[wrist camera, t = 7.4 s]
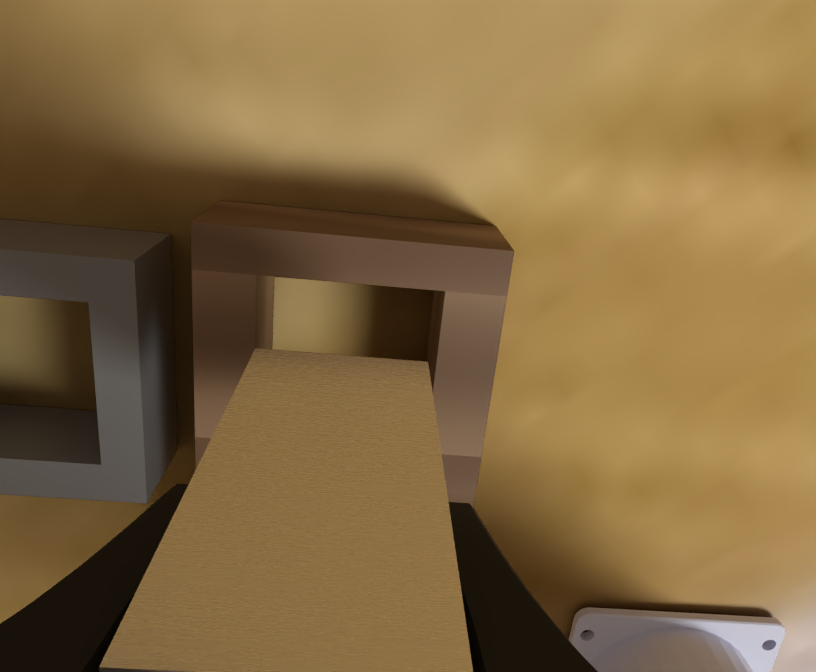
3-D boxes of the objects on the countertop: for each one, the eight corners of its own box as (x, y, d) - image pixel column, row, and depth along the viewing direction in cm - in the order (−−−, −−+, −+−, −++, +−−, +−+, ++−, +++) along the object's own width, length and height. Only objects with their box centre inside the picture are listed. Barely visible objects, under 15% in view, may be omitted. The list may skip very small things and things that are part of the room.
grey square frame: (177, 448, 22) (147, 503, 19) (-50, 433, 21) (-115, 486, 19) (170, 233, 19) (134, 260, 16) (-88, 211, 19) (-171, 234, 16)
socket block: (449, 543, 24) (457, 605, 21) (221, 529, 23) (198, 591, 20) (496, 226, 19) (513, 251, 17) (219, 200, 19) (190, 222, 16)
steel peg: (411, 505, 15) (434, 913, 8) (252, 495, 15) (120, 905, 8) (427, 361, 14) (474, 684, 7) (255, 348, 14) (99, 667, 6)
